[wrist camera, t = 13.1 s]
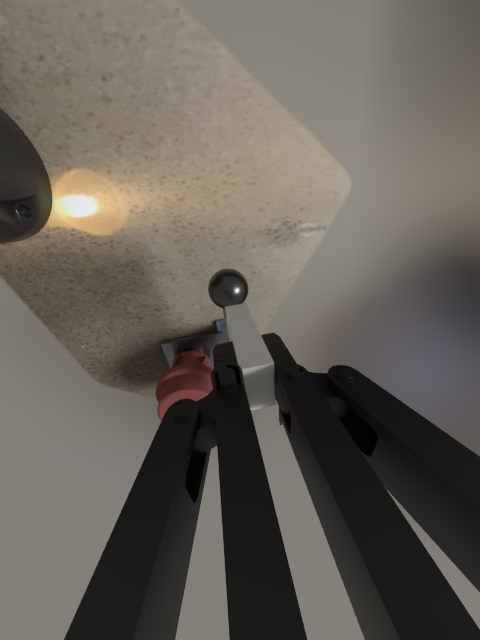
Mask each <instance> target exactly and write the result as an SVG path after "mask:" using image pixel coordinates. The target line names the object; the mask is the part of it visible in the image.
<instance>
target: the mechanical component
mask: <svg viewBox="0 0 480 640" xmlns="http://www.w3.org/2000/svg"><path fill="white" fill-rule="evenodd" d="M212 370H213V369H211V362H210V360H209V358H208V357H207V356H206V355H205V354H203V350H202V349H201V348H195V349H194V350H193V351H185V352H182V353H180V354H179V355H177V356H176V357H175V358H174V360H173V362H172V366H171V368H170V369H168V370H167V371H166V372H164V373H163V374H162V376H161V377H160V379H159V381H158V384H157V388H156V398H157V401H158V402H159V404H158V410H157V413H158V417H159V418H160V420H161V421H162V419H163V417H164V414H165V412H166V411H167V409H168V408H169V407H170V406H171V405H172V404H173V403H174V402H176V401H178V400H180V399H185V398H188V399H193V400H194V401H195V402H196V401H198V400H200V399H202V398H204V397H205V396H207V395H208V394H209V393H210V392H211V391H212V390H213V386H212V382H211V378H210V375H211V372H212Z"/></svg>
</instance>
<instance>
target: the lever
mask: <svg viewBox="0 0 480 640" xmlns="http://www.w3.org/2000/svg"><path fill="white" fill-rule="evenodd" d="M208 292H209V296H210V298H211V300H212V301H213V302H214V303H215V304H216V305H217V306H219V307H221V308H223V312H224V318H225V324H226V329H227V335H228V340H229V342H231V339H230V334H229V328H228V322H227V316H226V310H225V307H227V306H233V305H238V304H242V303H243V302H244V301H245V299H246V298H247V295H248V283H247V281H246V279H245V277H244V276H243V275H242V274H241V273H240V272H238V271H236V270H234V269H222V270H220V271H218V272H216V273H215V274H214V275H213V276H212V278H211V279H210V282H209V286H208Z"/></svg>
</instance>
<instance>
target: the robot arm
mask: <svg viewBox="0 0 480 640" xmlns="http://www.w3.org/2000/svg"><path fill="white" fill-rule="evenodd" d="M51 208H52V191H51V185H50V181H49V177H48V174H47V172H46V169H45V167H44V164H43V162H42V160H41V158H40V156H39V154H38V153H37V151H36V149H35V148H34V146H33V145H32V143H31V142H30V140H29V139H28V137H27V136H26V135H25V134H24V132H23V131H22V130H21V129H20V128H19V126H18V125H17V124H16V123H15V122H14V121H13V120H12V119H11V118H10V117H9V116H8V115H7V114H6V113H5V112H4V111H3V110H2V109H1V108H0V243H7V242H15V241H20V240H24V239H27V238H29V237H31V236H33V235H35V234H36V233H38V232H39V231H40V230H41V229H42V228H43V227H44V225H45V224H46V222H47V220H48V218H49V216H50V212H51ZM225 310H226V316H227V322H228V328H229V334H230V339H231V342H226V343H221V344H216V345H215V347H214V349H213V362H214V369H213V370H212V372H211V375H210V378H211V382H212V386H213V390H212V391H211V392H210V393H209V394H208V395H207V396H205V397H204V398H202V399H200V400H198V401H196V402H195V401H194V400H193V399H188V398H185V399H180V400H178V401H176V402H174V403H173V404H172V405H171V406H170V407H169V408H168V409H167V411H166V412H165V414H164V417H163V419H162V421H161V424H160V426H159V428H158V430H157V432H156V435H155V437H154V439H153V441H152V444H151V446H150V448H149V451H148V453H147V455H146V457H145V459H144V462H143V464H142V466H141V468H140V470H139V473H138V475H137V477H136V479H135V482H134V484H133V486H132V489H131V491H130V493H129V495H128V497H127V500H126V502H125V504H124V506H123V509H122V511H121V513H120V515H119V518H118V520H117V522H116V524H115V527H114V529H113V531H112V533H111V536H110V538H109V540H108V542H107V544H106V547H105V549H104V551H103V553H102V556H101V558H100V560H99V562H98V565H97V567H96V569H95V571H94V574H93V576H92V578H91V580H90V583H89V585H88V587H87V589H86V592H85V594H84V596H83V598H82V601H81V603H80V605H79V607H78V609H77V612H76V614H75V616H74V619H73V621H72V623H71V625H70V628H69V630H68V632H67V634H66V636H65V639H64V640H175V637H176V631H177V625H178V621H179V615H180V610H181V605H182V599H183V594H184V589H185V584H186V578H187V573H188V568H189V562H190V557H191V551H192V546H193V541H194V535H195V531H196V525H197V520H198V515H199V509H200V504H201V499H202V493H203V488H204V483H205V477H206V472H207V467H208V462H209V456H210V450H211V449H212V448H214V447H215V446H217V447H218V461H219V462H218V463H219V478H220V495H221V510H222V525H223V541H224V555H225V572H226V588H227V601H228V602H227V603H228V619H229V635H230V640H307V637H306V633H305V629H304V625H303V621H302V617H301V613H300V608H299V605H298V600H297V596H296V592H295V588H294V584H293V580H292V576H291V572H290V568H289V564H288V560H287V556H286V552H285V548H284V544H283V540H282V536H281V532H280V527H279V523H278V519H277V516H276V511H275V507H274V503H273V499H272V495H271V491H270V487H269V483H268V479H267V475H266V471H265V467H264V462H263V458H262V455H261V450H260V446H259V443H258V438H257V434H256V430H255V426H254V422H253V418H252V414H251V410H255V409H259V408H264V407H268V406H273V405H276V400H277V403H278V405H279V422H280V425H282V423H283V425H284V428H285V430H286V433H287V436H288V438H289V441H290V444H291V446H292V449H293V451H294V454H295V457H296V459H297V462H298V465H299V467H300V470H301V473H302V475H303V478H304V480H305V483H306V485H307V488H308V491H309V494H310V496H311V499H312V501H313V504H314V507H315V509H316V512H317V514H318V517H319V520H320V522H321V525H322V528H323V530H324V533H325V536H326V538H327V541H328V544H329V546H330V549H331V552H332V554H333V557H334V559H335V562H336V565H337V567H338V570H339V572H340V575H341V578H342V580H343V583H344V586H345V588H346V591H347V593H348V596H349V599H350V601H351V604H352V607H353V609H354V612H355V615H356V617H357V620H358V622H359V625H360V628H361V630H362V633H363V636H364V638H365V640H480V630H479V628H478V627H477V625H476V623H475V622H474V620H473V619H472V617H471V616H470V615H469V613H468V612H467V610H466V609H465V607H464V605H463V604H462V602H461V601H460V599H459V598H458V597H457V595H456V593H455V592H454V590H453V589H452V587H451V586H450V585H449V583H448V581H447V580H446V579H445V577H444V576H443V574H442V572H441V571H440V570H439V568H438V566H437V565H436V563H435V562H434V560H433V559H432V557H431V556H430V554H429V553H428V551H427V550H426V548H425V547H424V545H423V544H422V542H421V541H420V539H419V538H418V536H417V535H416V533H415V532H414V531H413V529H412V527H411V526H410V525H409V523H408V522H407V520H406V519H405V517H404V515H403V514H402V513H401V511H400V509H399V508H398V506H397V505H396V503H395V502H394V500H393V499H392V497H391V496H390V494H389V493H388V491H389V492H390V493H391V494H392V495H393V496H394V497H395V499H396V500H397V501H398V502H399V503H400V504H401V505H402V506H403V507H404V509H405V510H406V511H407V512H408V513H409V514H410V515H411V516H412V517H413V519H414V520H415V521H416V522H417V523H418V524H419V525H420V526H421V527H422V528H423V530H425V532H426V533H427V534H428V535H429V536H430V537H431V539H432V540H433V541H434V542H435V543H436V544H437V545H438V546H439V547H440V549H441V550H442V551H443V552H444V553H445V554H446V555H447V556H448V557H449V559H451V561H452V562H453V563H454V564H455V565H456V566H457V567H458V568H459V570H460V571H461V572H462V573H463V574H464V575H465V576H466V577H467V579H468V580H469V581H470V582H471V583H472V584H473V585H474V586H475V587H476V588H477V590H478V591H479V592H480V457H479V456H478V455H477V454H475V453H474V452H472V451H471V450H469V449H468V448H466V447H465V446H464V445H462V444H461V443H460V442H458V441H457V440H455V439H454V438H452V437H451V436H450V435H448V434H447V433H445V432H444V431H442V430H441V429H440V428H438V427H437V426H435V425H434V424H433V423H431V422H430V421H428V420H427V419H425V418H424V417H423V416H421V415H420V414H418V413H417V412H415V411H414V410H413V409H411V408H410V407H408V406H407V405H405V404H404V403H402V402H401V401H400V400H398V399H397V398H396V397H394V396H393V395H391V394H390V393H388V392H387V391H386V390H384V389H383V388H381V387H380V386H378V385H377V384H376V383H374V382H372V381H371V380H370V379H369V378H367V377H365V376H364V375H363V374H361V373H360V372H359V371H357V370H355V369H354V368H351V367H349V366H345V365H336V366H332V367H331V368H330V369H329V371H328V373H312V372H308V371H307V370H306V369H305V368H304V367H302V366H300V365H298V364H297V363H296V362H295V360H294V359H293V357H292V356H291V354H290V352H289V351H288V349H287V348H286V346H285V344H284V343H283V341H282V340H281V338H280V337H279V336H278V335H276V334H275V333H270V334H264V335H261V334H260V332H259V330H258V328H257V326H256V324H255V322H254V320H253V318H252V316H251V314H250V312H249V310H248V307H247V305H246V303H244V304H238V305H233V306H227V307H225ZM384 486H385V487H386V488H385V487H384ZM386 489H387V490H388V491H387V490H386Z"/></svg>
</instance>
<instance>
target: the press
mask: <svg viewBox="0 0 480 640" xmlns="http://www.w3.org/2000/svg"><path fill="white" fill-rule="evenodd" d="M216 324H217V329H218V330H217V331H212V332H206V333H201V334H195V335H190V336H185V337H179V338H174V339H169V340H163V341H162V343H161V346H162V348H163V351H164V354H165V356H166V359H167V361H168V364H169V367H170V368H171V366H172V362H173V360H174V358H175V357H176V356H177V355H179V354H180V353H182V352H185V351H193V350H194V349H195V348H201V349H202V350H203V354H205V355H206V356H207V357H208V358H209V360H210V362H211V369H214V362H213V349H214V347H215V345H216V344H221V343H226V342H229V340H228V335H227V329H226V324H225V319H219V320H216Z"/></svg>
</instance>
